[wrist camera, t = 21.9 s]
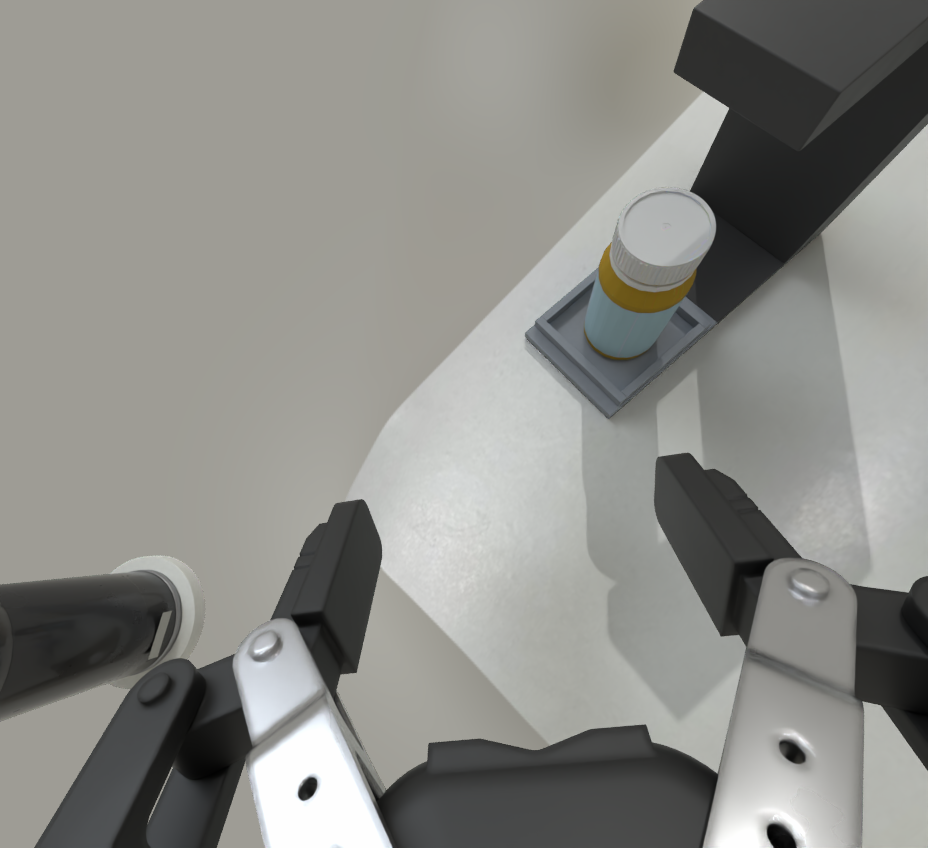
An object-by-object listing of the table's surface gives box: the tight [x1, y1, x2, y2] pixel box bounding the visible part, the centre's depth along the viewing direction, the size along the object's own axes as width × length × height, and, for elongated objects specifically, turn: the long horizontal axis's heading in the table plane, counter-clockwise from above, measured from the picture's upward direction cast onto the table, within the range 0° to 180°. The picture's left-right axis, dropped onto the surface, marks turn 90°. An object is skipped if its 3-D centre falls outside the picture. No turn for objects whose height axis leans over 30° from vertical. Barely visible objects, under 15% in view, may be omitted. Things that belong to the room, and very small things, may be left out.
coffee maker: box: [525, 0, 928, 419], centre depth 32 cm, size 29×12×26 cm, turn 130°
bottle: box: [584, 187, 716, 360], centre depth 35 cm, size 7×7×15 cm
